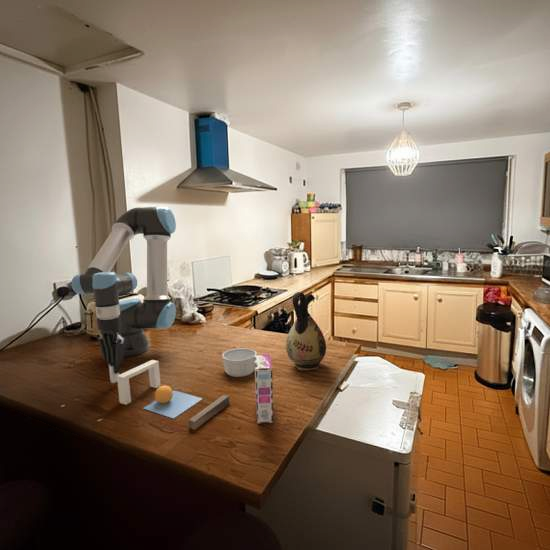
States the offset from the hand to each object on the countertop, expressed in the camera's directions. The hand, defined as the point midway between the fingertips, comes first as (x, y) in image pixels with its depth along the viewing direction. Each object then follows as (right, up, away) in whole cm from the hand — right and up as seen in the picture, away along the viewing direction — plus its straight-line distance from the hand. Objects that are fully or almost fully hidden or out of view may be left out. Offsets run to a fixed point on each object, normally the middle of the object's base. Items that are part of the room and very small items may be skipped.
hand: (115, 381), depth 126 cm
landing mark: (+25, -3, -13) cm, 28 cm away
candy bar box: (+54, -4, -20) cm, 58 cm away
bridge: (+11, -3, -6) cm, 13 cm away
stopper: (+38, -4, -21) cm, 43 cm away
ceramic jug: (+69, +2, +12) cm, 70 cm away
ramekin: (+43, +1, +10) cm, 45 cm away
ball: (+21, 0, -13) cm, 25 cm away
